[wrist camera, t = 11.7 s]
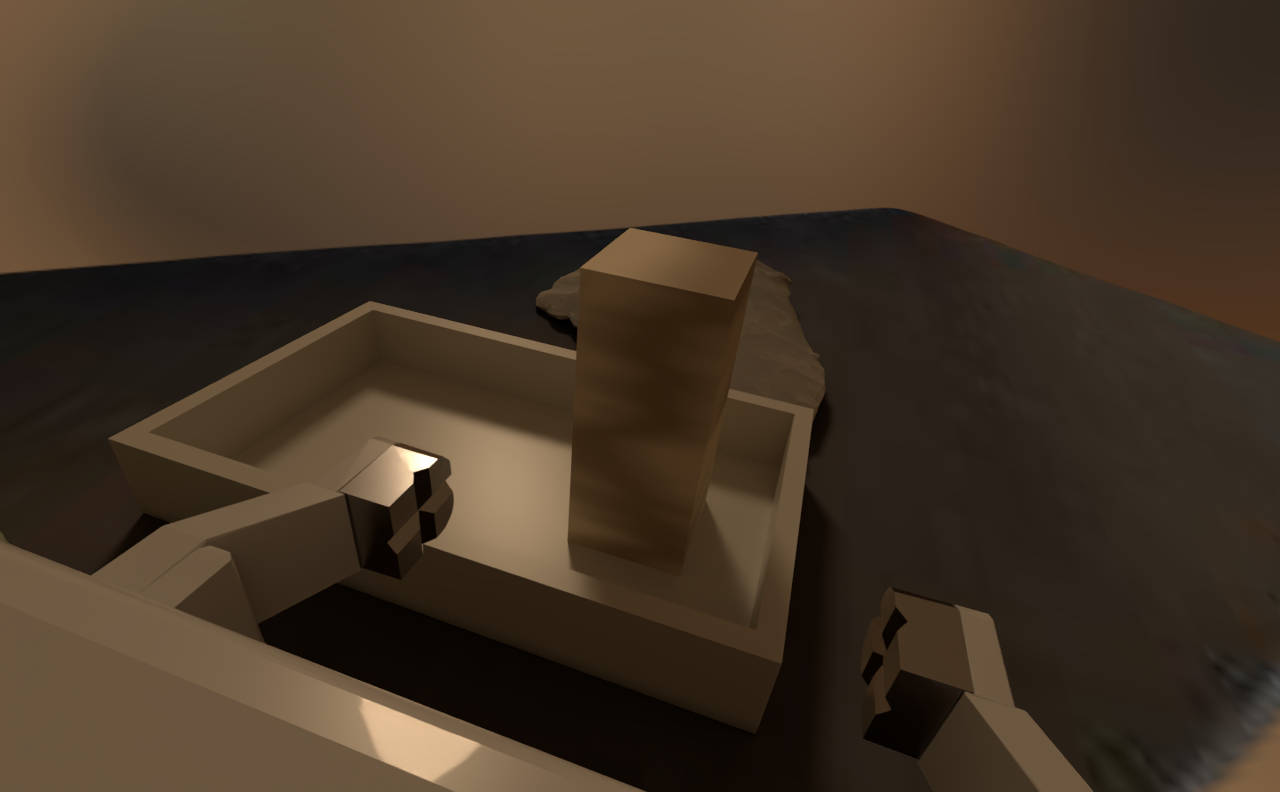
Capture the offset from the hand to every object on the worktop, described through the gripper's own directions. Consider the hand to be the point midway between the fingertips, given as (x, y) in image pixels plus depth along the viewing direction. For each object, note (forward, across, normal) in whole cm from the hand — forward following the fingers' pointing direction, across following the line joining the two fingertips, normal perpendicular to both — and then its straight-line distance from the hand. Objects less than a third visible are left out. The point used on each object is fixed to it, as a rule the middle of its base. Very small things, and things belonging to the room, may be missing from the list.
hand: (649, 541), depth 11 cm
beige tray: (+10, +8, +10) cm, 16 cm away
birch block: (+10, +2, +9) cm, 14 cm away
